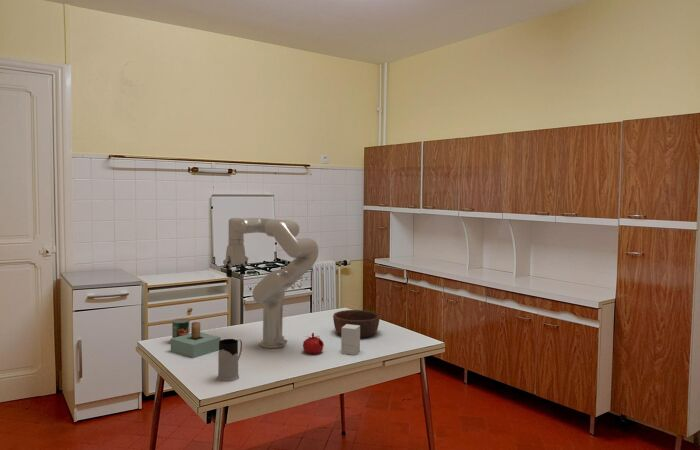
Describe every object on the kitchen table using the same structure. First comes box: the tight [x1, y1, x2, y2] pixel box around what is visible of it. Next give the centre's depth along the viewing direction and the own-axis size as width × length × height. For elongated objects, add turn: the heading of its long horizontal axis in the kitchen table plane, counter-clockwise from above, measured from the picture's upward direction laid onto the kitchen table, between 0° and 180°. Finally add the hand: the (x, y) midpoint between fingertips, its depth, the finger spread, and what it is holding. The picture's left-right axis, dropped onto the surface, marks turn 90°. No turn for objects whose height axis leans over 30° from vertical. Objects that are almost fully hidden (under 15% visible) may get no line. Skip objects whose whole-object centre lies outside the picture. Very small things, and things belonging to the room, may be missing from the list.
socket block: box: [170, 331, 221, 359], centre depth 251 cm, size 16×16×6 cm
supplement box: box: [340, 324, 361, 356], centre depth 253 cm, size 7×7×13 cm
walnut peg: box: [190, 321, 201, 340], centre depth 251 cm, size 4×4×12 cm
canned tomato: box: [171, 318, 190, 338], centre depth 263 cm, size 8×8×11 cm
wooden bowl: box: [332, 309, 381, 339], centre depth 286 cm, size 25×25×10 cm
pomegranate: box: [302, 332, 325, 355], centre depth 252 cm, size 10×10×9 cm
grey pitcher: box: [216, 338, 243, 383], centre depth 218 cm, size 9×14×15 cm, turn 159°
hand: (236, 275), depth 272 cm, fingers open, 9 cm apart
